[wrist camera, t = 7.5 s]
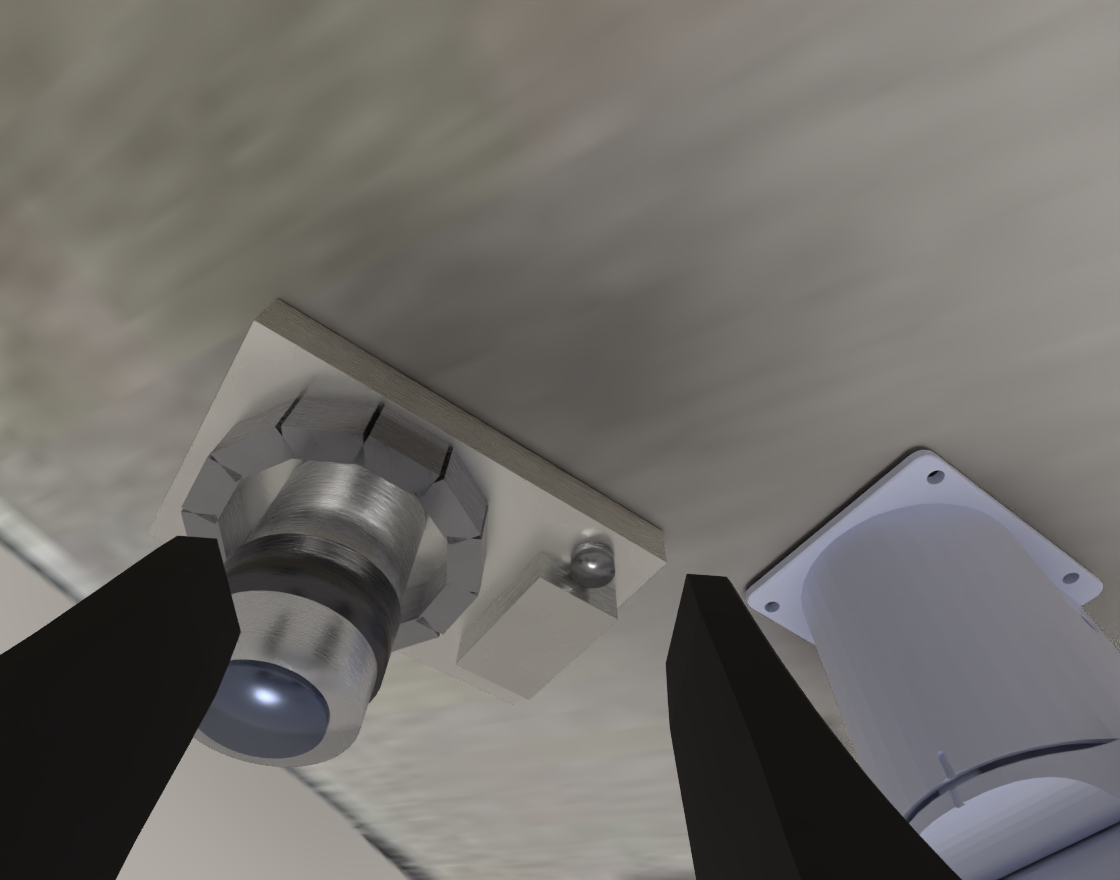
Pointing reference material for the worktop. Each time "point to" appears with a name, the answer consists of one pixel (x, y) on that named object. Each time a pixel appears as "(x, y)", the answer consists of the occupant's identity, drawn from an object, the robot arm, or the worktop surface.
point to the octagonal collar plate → (442, 489)
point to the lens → (314, 615)
